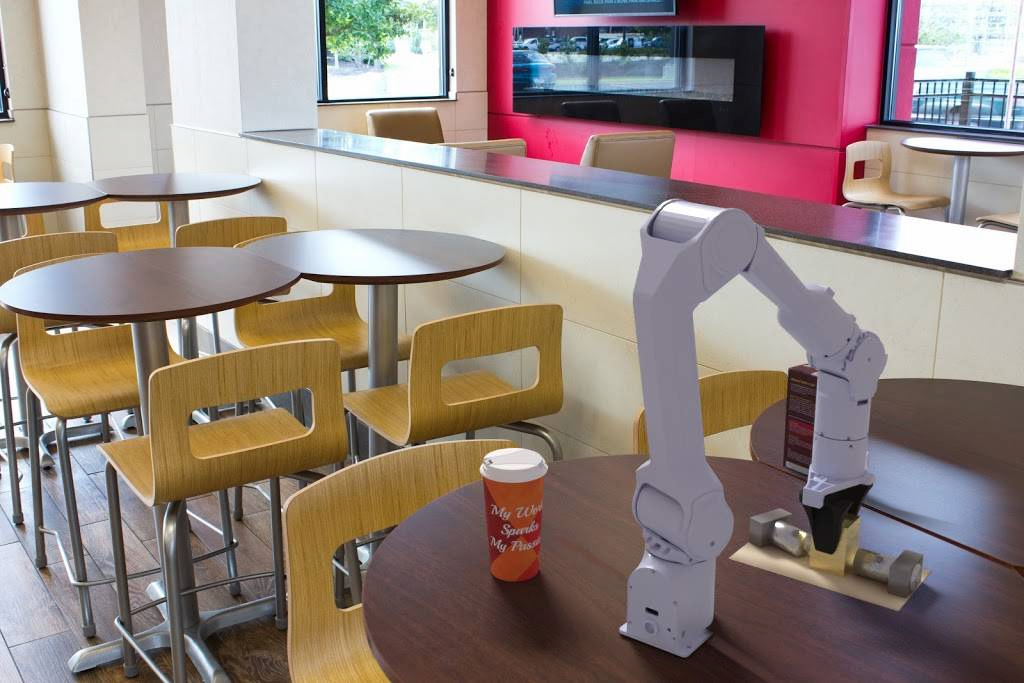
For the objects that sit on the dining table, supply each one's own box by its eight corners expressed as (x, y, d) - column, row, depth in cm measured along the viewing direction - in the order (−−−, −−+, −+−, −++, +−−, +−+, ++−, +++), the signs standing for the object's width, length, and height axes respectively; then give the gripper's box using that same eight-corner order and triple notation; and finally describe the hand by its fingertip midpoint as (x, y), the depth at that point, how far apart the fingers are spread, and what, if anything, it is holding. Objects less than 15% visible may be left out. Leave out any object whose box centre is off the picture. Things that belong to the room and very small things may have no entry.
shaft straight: (919, 584, 112) (922, 560, 111) (910, 595, 110) (913, 570, 109) (861, 567, 116) (863, 543, 115) (851, 577, 114) (853, 553, 113)
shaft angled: (812, 554, 119) (813, 530, 119) (794, 560, 118) (795, 536, 117) (771, 533, 125) (772, 510, 124) (753, 539, 123) (754, 516, 123)
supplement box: (851, 484, 142) (860, 375, 138) (828, 492, 139) (836, 382, 135) (802, 465, 149) (809, 361, 145) (780, 473, 146) (786, 367, 142)
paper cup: (491, 590, 114) (488, 474, 111) (475, 560, 122) (472, 450, 118) (557, 581, 116) (557, 466, 113) (537, 551, 124) (537, 443, 120)
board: (897, 621, 107) (901, 583, 106) (727, 567, 119) (729, 533, 118) (930, 580, 115) (933, 545, 114) (768, 534, 127) (770, 501, 126)
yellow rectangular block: (843, 577, 114) (847, 528, 112) (809, 567, 116) (812, 519, 115) (856, 564, 117) (860, 516, 115) (823, 554, 119) (826, 507, 118)
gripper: (852, 459, 105) (842, 579, 108) (899, 421, 116) (889, 531, 119) (787, 444, 109) (780, 560, 112) (838, 409, 120) (830, 515, 123)
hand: (832, 544), depth 116 cm, fingers closed on yellow rectangular block, 4 cm apart
